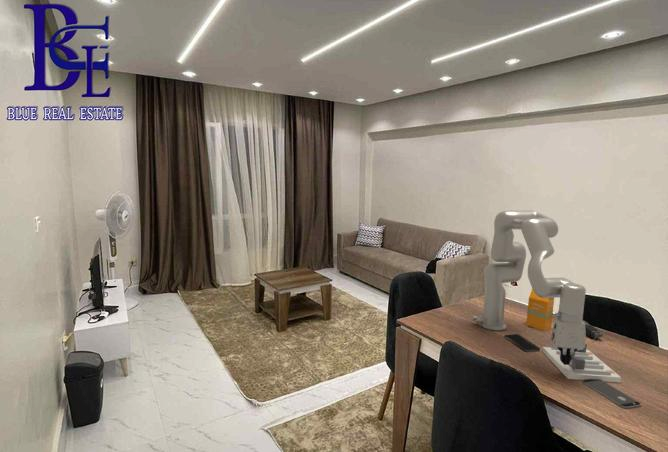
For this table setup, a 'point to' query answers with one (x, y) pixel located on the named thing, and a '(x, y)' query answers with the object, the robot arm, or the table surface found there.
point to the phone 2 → (611, 393)
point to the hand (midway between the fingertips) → (564, 363)
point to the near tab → (578, 363)
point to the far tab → (583, 349)
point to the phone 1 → (522, 343)
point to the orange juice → (539, 312)
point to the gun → (592, 331)
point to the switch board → (591, 370)
